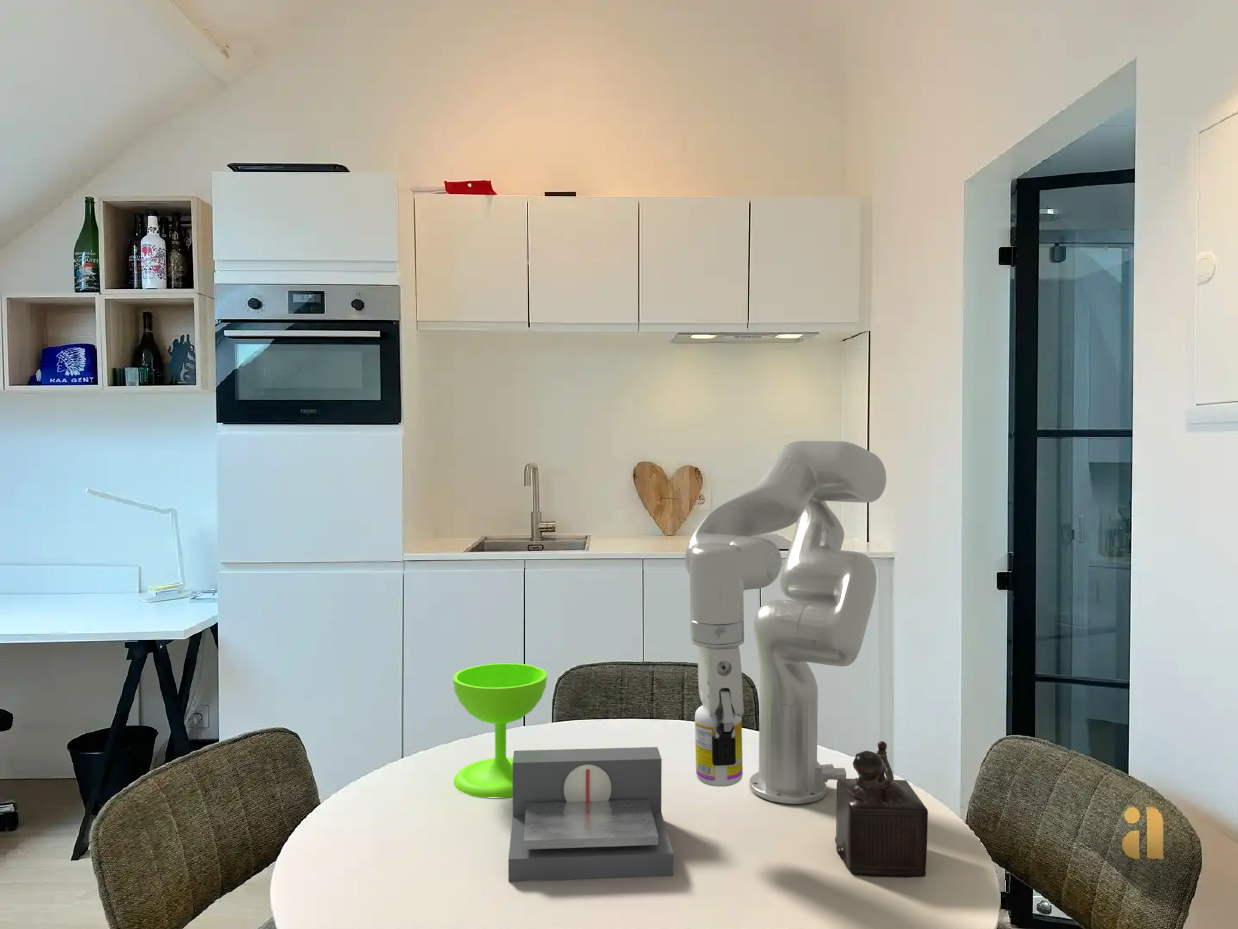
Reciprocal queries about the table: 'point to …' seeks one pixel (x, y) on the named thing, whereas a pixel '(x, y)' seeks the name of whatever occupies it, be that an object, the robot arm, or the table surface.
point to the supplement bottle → (703, 744)
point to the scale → (587, 780)
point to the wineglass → (496, 718)
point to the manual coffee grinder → (880, 821)
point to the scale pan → (589, 824)
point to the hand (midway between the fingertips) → (718, 753)
